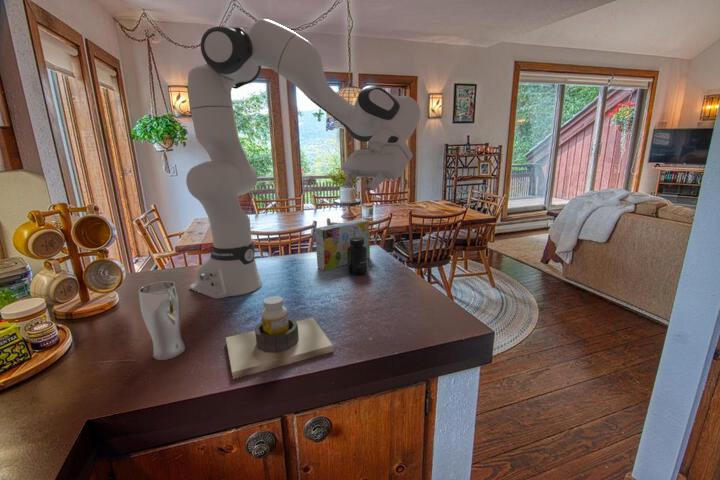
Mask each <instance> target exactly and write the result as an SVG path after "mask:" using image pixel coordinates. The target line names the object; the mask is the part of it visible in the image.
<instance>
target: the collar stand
mask: <svg viewBox="0 0 720 480" xmlns="http://www.w3.org/2000/svg"><path fill="white" fill-rule="evenodd" d="M288 323H289V331H287V332H285V333H282V334H278V335H265V334H263V325H262V321H261V322H259V323H258V324H257V325H256V326H255V328H254V330H253V331H248V332H244V333H240V334H236V335H230V336H226V337H225V341H226V342H225V343H226V347H227V353H228V359H229V365H230V370H231V377H232V376H233V377H232V380H235V378H236V379H239V377H240V378H243V376H244V377H247V376H250V375H253V374H258V373H261V372H264V371H268V370H272V369H275V368H279V367H283V366H287V365H290V364H294V363H297V362H300V361H304V360H307V359H312V358H316V357H318V356H322V355H326V354H329V353H333V352H334V345H333V343H332V342H331V341H330V339H329V337H327V335H326V334H325V332H324V331H323V330H322V328H321V327H320V326H319V324H318V323H317V321H316V320H315V319H314V318H313V317H309V318H304V319H300V320H296V319H294V318H291V317H290V316H288ZM246 375H247V376H246Z"/></svg>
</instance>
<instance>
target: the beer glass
mask: <svg viewBox="0 0 720 480" xmlns="http://www.w3.org/2000/svg"><path fill="white" fill-rule="evenodd" d="M138 299H139V306H140V307H139V308H140V311H141V316H142V319H143V321H144V324H145V326H146V328H147V331H148V332H149V336H151V337H150V338H151V340H152V346H153V347H152V349H153V350H152V357H153V359H155V360H157V361H166V360H171V359H173V358H176V357H178V356H180V355H181V354H183V353H184V351H185V350H186V345H185V343H184V341H183V339H182V334H181V303H180V296H179V294H178V290H177V286H176V282H174V281H169V280H164V281H163V280H162V281H156V282H155V281H154V282H151V283H148V284H145V285H143V286H141V287H140V288H138Z"/></svg>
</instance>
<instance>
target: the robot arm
mask: <svg viewBox="0 0 720 480" xmlns="http://www.w3.org/2000/svg"><path fill="white" fill-rule="evenodd" d="M200 51H201V55H202V57H203V59H204V62H205V63H206V64H201V65H197V66H195V67H193V68H191V69H190V70H189V72H188V76H187V90H188V91H187V92H188V103H189V107H190V114H191V119H192V124H193V129H194V134H195V138H196V140H197V141H198V143H199V144H200V145H201V146H202V147H203V149H205V150H206V153H207V154H208V156H209V158H210V160H209V161H207V160H206V161H204V162H201V163H198V164H197V165H194V166H193V167H191V168H190V169H189V171H188V172H187V174H186V179H185V182H186V183H185V184H186V187H187V191H189V193H190V195H191V196H192V197H194V198H195V199H196V200H197V201H199V203H200V204H201V205H202V207H203V208H204V211H205V213H206V215H207V217H208V221H209V225H210V231H211V237H212V243H213V245H212V246H209V247H207V248H206V249H207V252H210V255H209V258H208V259H207V260H206V261H205V262H204V263H203V264H202V265H200V266H199V267H198V268H197V271H196V281H193V283H191V284H190V285H189V290H191V289H192V290H191V291H193V290H194V292H196V291H197V292H196V293H199V294H201V293H202V295H205V296H207V297H210V298H212V299H216V300H217V299H222V298H227V297H236V296H242V295H245V294H249V293H252V292H254V291H257V290H258V289H260V288H261V287H262V285H263V282H262V280H261V277H260V274H259V272H258V268H257V263H256V259H255V253H256V251H255V244H254V241H253V239H252V230H251V221H250V217H249V215H248V214H247V213H246V212H244V210H243V208H242V206H241V204H240V200H239V197H240V196H244V195H246V194H248V193H249V192H250V191H252V190H253V189H255V188H256V185H257V183H258V172H257V171H256V168H255V167H254V166H253V165H252V164H251V163H250V161H249V160H248V157H247V155H246V152H245V151H244V148H243V146H242V143H241V141H240V137H239V134H238V133H239V132H238V129H237V123H236V116H235V112H234V106H233V100H232V89H235V90H237V89H239V88H240V87H243V86H247V85H249V84H250V83H253V82H254V81H256V80H257V78H259V76H260V74H261V72H262V71H261V70H262V67H267V68H269V69H270V70H272V71H274V72H275V73H276V74H278V75H280V76H281V77H283V78H285V80H287V81H289V82H290V83H291V84H293V85H294V86H295V87H296V88H297V89H299V90H300V91H301V92H302V93H303V95H305V96H306V97H307V98H308V99H309V100H310V101H311V102H312V103H313V104H314V105H316V106H318V107H319V108H320V109H321V110H323V111H324V112H325V113H327V115H330V117H332V119H335V120H336V121H337V122H338V123H339V124H340V125H342V126H343V127H344V128H345V129H346V130H347V132H348V133H349V135H350V136H351V137H352V138H354V139H355V140H356V141H359V142H362V143H363V142H366V143H367V144H366V146H367V147H366V148H365V147H362V148H360V149H355V150H354V151H353V152H352V153H351V154H350V155H349V156H348V157H347V158H346V160H345V161H344V163H343V164H342V165H341V171H342V172H343V173H344V174H345V175H346V177H345V180H344V182H343V186H344V187H345V188H347V189H348V188H349V189H350V188H351V189H352V186H353V185H354V183H353V180H355V178H373V179H372V180H369V182H368V184H367V185H366V187H367V189H368V190H369V191H375V190H376V189H377V187H378V186H379V185H381V184H383V183H384V182H385V181H386V179H387V180H388V179H390V180H397V179H398V178H400V177H401V176H402V174H403V173H404V172H405V170H406V168H407V167H408V165H409V161H411V159H412V158H413V157H414V155H413V153H412V150H411V148H410V147H409V145H408V144H407V141H409V139H410V138H411V137H412V136H413V134H414V132H415V130H416V128H417V126H418V125H419V122H420V120H421V108H420V107H421V106H419V103H418V102H417V101H416V100H415V99H414V98H413V97H410V96H409V95H402V96H399V95H395V94H392V93H390V92H388V91H387V90H386V89H384V88H383V87H381V86H378V85H367V86H365V87H363V88H362V89H361V90H360V91H359V93H358V95H357V98H356V99H355V103H354V105H353V104H351V102H349V101H348V100H346V99H345V98H343V96H341V94H338V93H337V92H336V91H335V90H334V89H333V88H332V87H331V85H329V82H328V79H327V78H326V75H325V71H324V65H323V60H322V58H321V55H320V52H319V51H318V49H317V48H316V47H315V46H314V45H313V44H312V43H311V42H310V41H309V40H307V39H305V38H304V37H302V35H299V34H298V33H296V32H294V30H291V29H289V28H287V27H286V26H284V25H281V24H279V23H277V22H275V21H273V20H270V19H266V18H261V19H258V20H256V21H255V22H254V24H252V26H251V28H250V29H249V31H248V32H247V31H245V29H244V28H243V27H228V26H227V27H226V26H214V27H210V28H209V29H207V30H206V31H205V32H204V33H203V35H202V36H201V40H200Z"/></svg>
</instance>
